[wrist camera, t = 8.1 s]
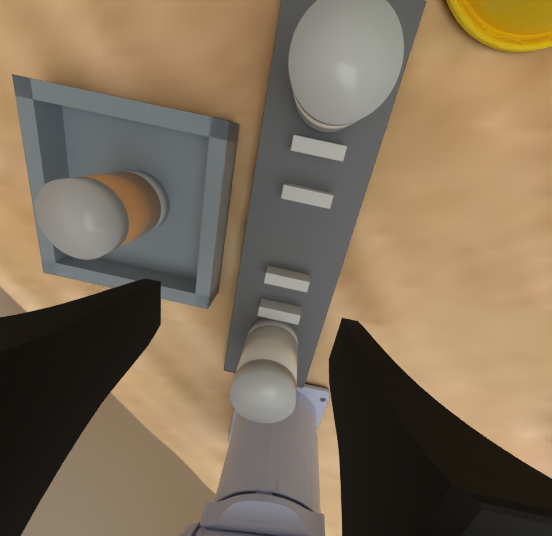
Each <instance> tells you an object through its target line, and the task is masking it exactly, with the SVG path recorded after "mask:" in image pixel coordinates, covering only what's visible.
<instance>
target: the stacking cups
mask: <svg viewBox="0 0 552 536" xmlns="http://www.w3.org/2000/svg"><path fill="white" fill-rule="evenodd" d="M446 1H447V4H448V7H449V9H450V10H451V12H452V14H453V15H454V17H455V19H456V21H457V22H458V23H459V24H460V26H461V27H462V28H463V29H464V30H465V31H466V32H467V33H468V34H469V35H470V36H472V37H473V38H475V39H476V40H477V41H479V42H481V43H483V44H484V45H487V46H489V47H491V48H494V49H497V50H502V51H508V52H528V51H536V50H540V49H544V48H549V47H552V0H446Z"/></svg>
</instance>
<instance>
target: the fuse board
mask: <svg viewBox="0 0 552 536" xmlns="http://www.w3.org/2000/svg"><path fill="white" fill-rule="evenodd" d="M316 1H317V0H281V5H280V12H279V18H278V25H277V31H276V37H275V44H274V50H273V57H272V63H271V69H270V76H269V82H268V89H267V95H266V101H265V108H264V114H263V121H262V127H261V134H260V140H259V146H258V153H257V159H256V166H255V172H254V178H253V185H252V191H251V198H250V204H249V210H248V217H247V223H246V230H245V236H244V243H243V249H242V255H241V262H240V268H239V275H238V281H237V287H236V294H235V300H234V307H233V313H232V320H231V326H230V332H229V339H228V345H227V352H226V358H225V364H224V371H228V372H232V373H236V371H237V367H238V364H239V361H240V358H241V354H242V351H243V348H244V345H245V342H246V338H247V335H248V332H249V329H250V327H251V325H252V324H253V323H254V322H255V321H257V320H258V319H260V318H263V317H265V318H269V319H274V320H278V321H283V322H287V323H291V324H292V325H293V326H294V327H295V329H296V331H297V334H298V358H297V385H296V387H299V388H303V387H304V384H305V381H306V377H307V374H308V371H309V368H310V365H311V362H312V359H313V355H314V352H315V349H316V346H317V343H318V340H319V337H320V333H321V330H322V327H323V324H324V321H325V318H326V315H327V311H328V308H329V305H330V302H331V299H332V296H333V293H334V290H335V286H336V283H337V280H338V277H339V274H340V271H341V268H342V264H343V261H344V258H345V255H346V252H347V249H348V246H349V242H350V239H351V236H352V233H353V230H354V227H355V224H356V220H357V217H358V214H359V211H360V208H361V205H362V202H363V198H364V195H365V192H366V189H367V186H368V183H369V180H370V177H371V173H372V170H373V167H374V164H375V161H376V158H377V155H378V151H379V148H380V145H381V142H382V139H383V136H384V133H385V129H386V126H387V123H388V120H389V117H390V114H391V111H392V107H393V104H394V101H395V98H396V95H397V92H398V89H399V85H400V82H401V79H402V76H403V73H404V70H405V67H406V63H407V60H408V57H409V54H410V51H411V48H412V45H413V42H414V38H415V35H416V32H417V29H418V26H419V23H420V20H421V16H422V13H423V10H424V7H425V4H426V1H424V0H386V1H387V2H388V3H389V4H390V5H391V6H392V8H393V9H394V11H395V13H396V15H397V16H398V19H399V21H400V24H401V27H402V32H403V39H404V55H403V63H402V67H401V71H400V74H399V76H398V79H397V81H396V83H395V85H394V88H393V89H392V91H391V92H390V94H389V96H388V97H387V98H386V99H385V101H384V102H383V103H382V104H381V105H380V106H379V107H378V108H377V109H376V110H374V111H373V112H372V113H370V114H369V115H367V116H366V117H364V118H362V119H360V120H359V121H357V122H355V123H353V124H351V125H350V126H348V127H346V128H344V129H342V130H339V131H336V132H329V133H326V132H320V131H317V130H315V129H313V128H311V127H310V126H308V125H307V124H306V123H305V122H304V121H303V119H302V118H301V116H300V114H299V112H298V110H297V107H296V103H295V99H294V94H293V90H292V85H291V81H290V76H289V68H288V61H289V50H290V45H291V41H292V38H293V35H294V32H295V30H296V28H297V25H298V23H299V22H300V20H301V18H302V17H303V15H304V14H305V13H306V11H307V10H308V9H309V8H310V7H311V6H312V5H313V4H314V3H315V2H316Z"/></svg>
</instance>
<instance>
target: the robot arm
mask: <svg viewBox="0 0 552 536" xmlns="http://www.w3.org/2000/svg"><path fill="white" fill-rule="evenodd" d="M160 325H161V281H156V280H151V279H146V278H145V279H141V280H137V281H134V282H130V283H127V284H124V285H121V286H118V287H115V288H112V289H109V290H106V291H103V292H100V293H97V294H94V295H91V296H87V297H84V298H80V299H77V300H74V301H70V302H67V303H64V304H60V305H56V306H52V307H48V308H44V309H40V310H35V311H31V312H27V313H23V314H18V315H12V316H6V317H0V536H21V534H22V532H23V530H24V529H25V527H26V525H27V523H28V522H29V520H30V518H31V516H32V514H33V513H34V511H35V509H36V507H37V505H38V504H39V502H40V500H41V498H42V497H43V495H44V494H45V492H46V490H47V489H48V487H49V485H50V483H51V482H52V480H53V478H54V477H55V475H56V473H57V472H58V470H59V468H60V467H61V465H62V463H63V462H64V460H65V459H66V457H67V455H68V454H69V452H70V451H71V449H72V448H73V446H74V444H75V443H76V441H77V439H78V438H79V436H80V435H81V433H82V432H83V430H84V429H85V427H86V426H87V424H88V423H89V421H90V420H91V418H92V417H93V415H94V414H95V412H96V411H97V409H98V408H99V406H100V405H101V403H102V402H103V401H104V399H105V398H106V397H107V395H108V394H109V393H110V392H111V390H112V389H113V388H114V387H115V386H116V384H117V383H118V382H119V381H120V379H121V378H122V377H123V376H124V375H125V373H126V372H127V371H128V370H129V368H130V367H131V366H132V365H133V364H134V362H135V361H136V360H137V359H138V357H139V356H140V355H141V354H142V352H143V351H144V350H145V349H146V347H147V346H148V345H149V343H150V341H151V340H152V338H153V337H154V335H155V333H156V332H157V330H158V328H159V326H160ZM329 384H330V392H331V399H332V406H333V413H334V419H335V426H336V433H337V440H338V448H339V460H340V480H341V505H342V536H552V479H551V478H549V477H548V476H546V475H544V474H543V473H541V472H539V471H538V470H536V469H534V468H533V467H531V466H529V465H528V464H526V463H524V462H522V461H521V460H519V459H518V458H516V457H515V456H513V455H512V454H510V453H508V452H507V451H505V450H504V449H502V448H501V447H499V446H498V445H496V444H495V443H493V442H492V441H490V440H489V439H487V438H486V437H484V436H483V435H482V434H480V433H479V432H477V431H476V430H474V429H473V428H472V427H470V426H469V425H467V424H466V423H465V422H463V421H462V420H461V419H459V418H458V417H457V416H455V415H454V414H453V413H451V412H450V411H449V410H448V409H446V408H445V407H444V406H443V405H441V404H440V403H439V402H438V401H436V400H435V399H434V398H433V397H432V396H431V395H429V394H428V393H427V392H426V391H425V390H424V389H422V388H421V387H420V386H419V385H418V384H417V383H416V382H415V381H414V380H412V379H411V378H410V377H409V376H408V375H407V374H406V373H405V372H404V371H403V370H402V369H401V368H400V367H399V366H398V365H397V364H396V363H395V362H394V361H393V360H392V358H391V357H390V356H389V355H388V354H387V353H386V352H385V351H384V350H383V349H382V348H381V346H380V345H379V344H378V343H377V342H376V341H375V340H374V338H373V337H372V336H371V335H370V334H369V333H368V332H367V330H366V329H365V328H364V327H363V326H362V325H361V324H360V323H359V322H358V321H355V320H350V319H345V318H342V320H341V323H340V326H339V329H338V333H337V336H336V339H335V342H334V345H333V348H332V351H331V355H330V358H329ZM330 392H329V390H328V389H326V388H321V387H317V386H312V385H308V384H304V387H303V388H299V387H296V405H295V409H294V411H293V412H292V413H291V415H290V416H288V417H287V418H285V419H284V420H282V421H279V422H275V423H259V422H254V421H251V420H249V419H247V418H245V417H243V416H242V415H240V414H239V413H238V412H237V411H236V410H235V409H234V412H233V418H232V423H231V428H230V433H229V439H228V441H229V442H230V443H229V447H228V451H227V455H226V458H225V462H224V466H223V470H222V474H221V478H220V482H219V486H218V489H217V493H216V498H215V502H207V503H206V505H205V509H204V512H203V516H202V519H201V522H198V521H193V522H191V523H190V524H189V525H188V526H187V527H186V528H185V530H184V531H183V532H182V533H181V534H180V535H179V536H325V521H324V514H322V513H321V511H320V487H319V464H318V440H317V429H318V426H319V424H320V421H321V418H322V416H323V413H324V410H325V408H326V405H327V402H328V400H329V397H330Z"/></svg>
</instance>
